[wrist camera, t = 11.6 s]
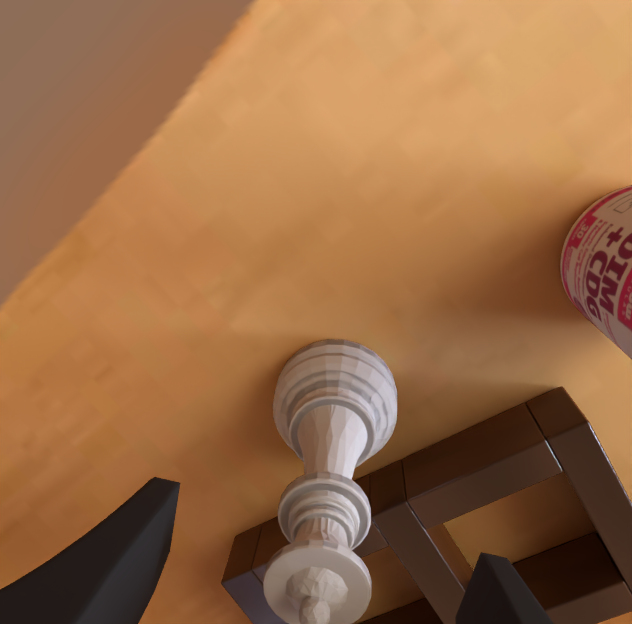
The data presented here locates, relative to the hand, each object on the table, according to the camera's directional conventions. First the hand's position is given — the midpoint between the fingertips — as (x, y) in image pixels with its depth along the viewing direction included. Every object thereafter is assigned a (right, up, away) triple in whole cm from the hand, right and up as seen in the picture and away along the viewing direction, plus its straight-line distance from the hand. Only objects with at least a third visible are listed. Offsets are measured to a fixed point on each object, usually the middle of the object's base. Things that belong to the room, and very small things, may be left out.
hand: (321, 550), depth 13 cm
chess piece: (+1, +3, +8) cm, 8 cm away
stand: (+5, -4, +9) cm, 11 cm away
